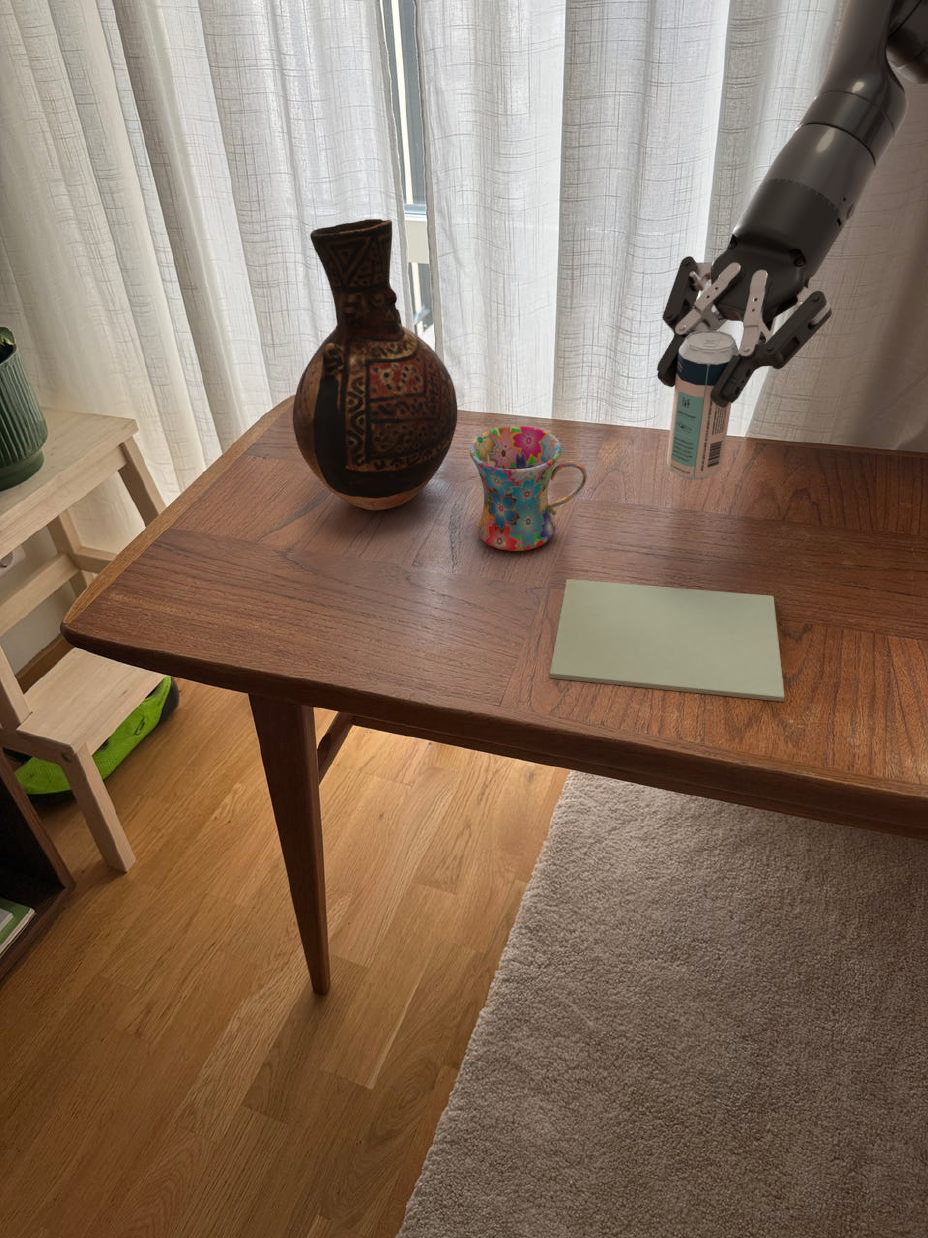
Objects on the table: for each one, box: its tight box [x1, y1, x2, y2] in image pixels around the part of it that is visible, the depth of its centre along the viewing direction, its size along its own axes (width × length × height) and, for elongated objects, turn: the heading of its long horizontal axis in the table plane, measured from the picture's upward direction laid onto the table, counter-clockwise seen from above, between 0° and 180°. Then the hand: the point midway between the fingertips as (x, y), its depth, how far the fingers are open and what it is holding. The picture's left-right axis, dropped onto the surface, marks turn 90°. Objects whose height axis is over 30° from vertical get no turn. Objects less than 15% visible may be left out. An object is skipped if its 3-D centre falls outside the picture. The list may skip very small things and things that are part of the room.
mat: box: [549, 578, 786, 703], centre depth 82 cm, size 20×14×1 cm
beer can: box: [666, 330, 739, 481], centre depth 75 cm, size 5×5×12 cm
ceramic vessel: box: [292, 218, 458, 511], centre depth 95 cm, size 21×18×30 cm
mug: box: [469, 425, 588, 552], centre depth 93 cm, size 12×9×11 cm
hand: (690, 391), depth 73 cm, fingers closed on beer can, 5 cm apart
